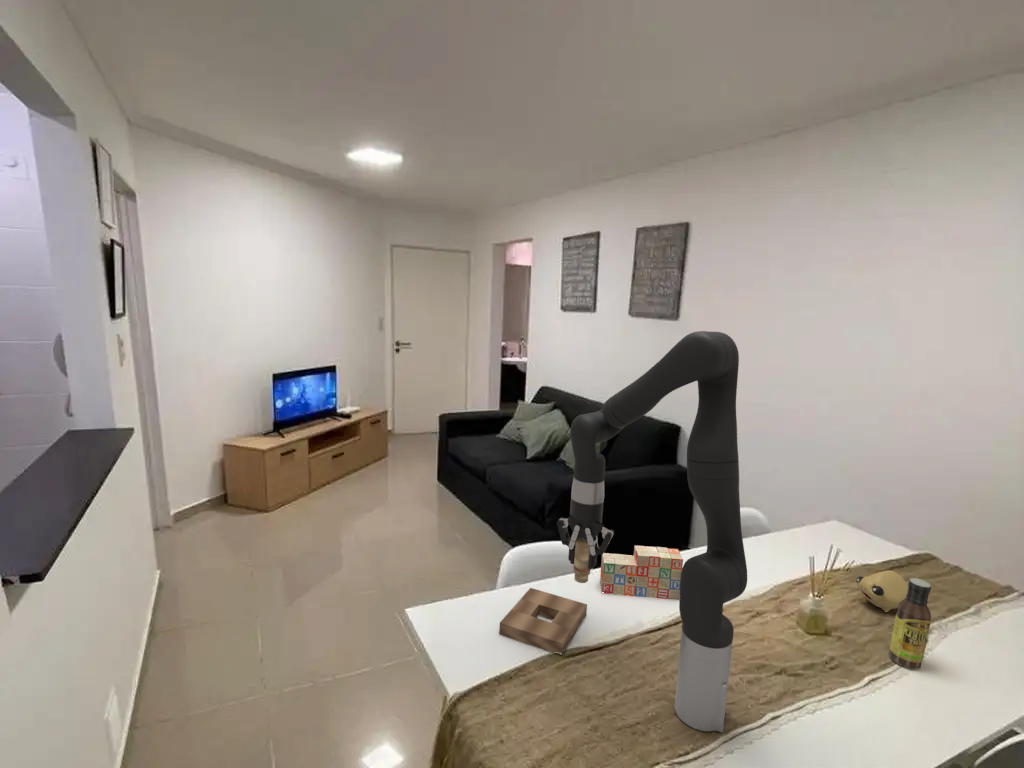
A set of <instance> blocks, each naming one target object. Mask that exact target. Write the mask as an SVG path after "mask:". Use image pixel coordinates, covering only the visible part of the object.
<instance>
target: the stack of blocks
mask: <svg viewBox="0 0 1024 768" xmlns="http://www.w3.org/2000/svg"><path fill="white" fill-rule="evenodd" d="M633 549H634V550H633V555H631V554H630V555H629V554H622V553H621V554H620V553H609V552H607V553H606V552H604V553H603V554H602V555H601V560H600V561H601V564H600V579H599V584H600V583H601V584H600V590H601V593H602V592H604V593H603V594H608V593H613V594H612V595H616V594H621V595H620V596H627V595H629V597H639V598H641V597H642V598H653V599H662V600H673V601H680V578H681V572H682V568H683V565H684V564H683V563H684V558H683V556H682V554H681V552H680V550H679V548H668V547H666V546H665V547H662V546H647V545H646V546H645V545H634V547H633Z"/></svg>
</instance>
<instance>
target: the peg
mask: <svg viewBox="0 0 1024 768" xmlns="http://www.w3.org/2000/svg"><path fill="white" fill-rule="evenodd" d="M590 554H591V553H590V547H589V546H588V541H587V540H585V539H584V538H578V539H577V540H576V543H575V555H574V564H573V567H572V568H573V569H572V572H573V573H574V581H575V582H577V583H580V584H585V583H586V584H587V582H588V581H589V576H590V574H591V571H592V570H591V569H588V567H589V555H590Z"/></svg>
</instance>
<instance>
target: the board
mask: <svg viewBox="0 0 1024 768" xmlns="http://www.w3.org/2000/svg"><path fill="white" fill-rule="evenodd" d="M587 610H588V604H586V603H583V602H581V601H577V600H574V599H570V598H566V597H563V596H559V595H557V594H553V593H549V592H546V591H544V590H540V589H536V588H533V587H529V588H528V590H527V591H526V592H525V593H524V594H523V596H521V598H519V600H518V601H517V602H516V604H515V605H514V606H513V607H512V608H511V609H510V611H509V612H508V613H507V614H506V615H505V616H504V617H503V619H502V620H501V621H500V622H499V632H498V633H499V635H501V636H504V637H506V638H510V639H512V640H516V641H519V642H521V643H524V644H526V645H530V646H533V647H536V648H538V649H542V650H544V651H546V652H547V651H548V652H549V653H553V652H561V653H562V652H563V651H564V650H565V651H566V649H567V648H568V646H569V645H570V643H571V641H572V639H573V638H574V637H575V635H576V633H577V631H578V629H580V626H581V625H582V623H583V622H584V620H585V618H586V616H587V612H588V611H587ZM539 617H543V618H547V619H548V620H551V621H548V620H545V619H541V618H539ZM565 651H564V652H565Z"/></svg>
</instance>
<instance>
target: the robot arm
mask: <svg viewBox="0 0 1024 768" xmlns="http://www.w3.org/2000/svg"><path fill="white" fill-rule="evenodd" d="M739 361H740V356H739V349H738V346H737V344H736V342H735V341H734V339H733V338H732V337H731V336H730V335H729V334H726V333H724V332H721V331H707V330H705V331H704V330H700V331H693V332H690V333H689V334H686V335H685V336H684V337H682V338H681V339H680V340H679V341H678V342H677V343H676V344H675V345H674V346H672V348H671V349H670V350H669V351H668V352H667V353H666V354H665V355H664V356H663V357H661V359H660V360H659V361H657V362H656V363H655V364H654V365H653V366H652V367H651V368H649V369H648V370H647V371H646V372H645V373H644V374H642V375H641V376H639V377H638V378H637V379H636V380H634V381H633V382H632V383H630V384H628V385H626V387H624V388H622V389H620V390H619V391H618V392H616V393H615V394H613V395H611V397H609V398H608V399H607V400H606V401H605V402H604V403H603V405H602V408H601V409H598V410H597V411H595V412H593V411H592V412H589V413H583V414H579V415H578V416H576V417H575V418H574V419H573V421H572V422H571V426H570V430H569V431H570V433H569V435H570V442H571V448H572V452H573V456H574V457H573V458H574V466H573V467H574V469H573V480H572V485H571V493H570V495H571V496H570V507H569V509H570V510H569V516H568V517H567V518H565V517H563V516H562V517H560V518H559V519H558V520H557V521H556V525H557V529H558V533H559V536H560V537H559V538H560V542H561V544H562V545H563V546H566V547H568V558H567V559H568V562H569V561H570V562H569V563H570V564H571V565H574V555H575V543H576V540H577V539H578V538H584V539H585V540H587V541H588V546H589V547H590V553H591V554H590V555H589V567H588V569H591V570H590V571H592V569H593V568H595V567H596V565H597V564H598V563H597V562H598V555H599V556H602V554H603V553H605V552H606V551H607V549H608V546H609V544H610V543H611V541H612V538H613V536H614V534H615V530H614V529H608V528H607V527H604V523H603V513H604V502H605V500H604V499H605V496H606V495H605V476H606V475H605V474H606V458H605V456H604V455H603V454H602V453H601V452H597V450H596V447H597V446H596V444H600V443H602V442H606V441H609V440H610V439H612V438H613V437H615V436H617V435H618V434H619V433H620V432H621V431H623V429H624V428H626V427H627V426H629V425H631V424H632V423H634V422H635V421H638V419H640V418H642V417H644V416H645V415H646V414H648V413H649V412H650V411H652V410H653V409H654V408H655V407H656V406H657V405H658V404H659V403H660V402H661V401H662V400H663V399H664V398H665V397H666V396H668V395H669V394H671V393H672V392H673V391H676V390H678V389H679V388H682V387H685V386H687V385H689V384H692V383H694V382H697V389H698V391H697V393H698V403H697V412H696V415H695V419H694V422H693V424H692V427H691V431H690V434H689V437H688V441H687V446H686V474H687V475H686V476H687V484H688V488H689V491H690V492H691V495H692V497H693V499H694V500H695V502H696V504H697V506H698V508H699V509H700V511H701V513H702V516H703V518H704V521H705V525H706V539H707V541H706V543H707V544H706V552H704V553H700V554H697V555H695V556H693V557H692V556H691V557H690V558H688V559H687V560H686V561H685V562H684V564H683V566H682V572H681V578H680V597H679V600H678V601H679V604H678V605H679V606H678V608H679V615H680V618H681V632H680V633H681V634H680V643H679V655H678V665H677V667H678V668H677V677H676V687H675V688H676V689H675V695H674V697H675V698H674V712H675V713H676V715H677V717H678V718H679V719H680V720H681V721H682V722H683V723H684V724H685V725H687V726H689V727H690V728H692V729H694V730H698V731H701V732H719V733H723V732H724V725H725V717H726V716H725V714H726V708H727V707H726V706H727V696H728V687H729V678H730V668H731V659H732V650H733V649H732V648H733V641H734V632H735V629H734V625H733V623H732V621H731V620H730V619H729V618H728V617H727V616H725V615H724V614H723V609H724V604H726V603H728V602H730V601H733V600H734V599H737V598H738V597H740V596H741V595H742V594H743V593H744V592H745V590H746V588H747V585H748V569H747V568H748V566H747V559H746V555H745V553H746V552H745V546H744V540H743V533H742V522H741V502H740V465H739V463H740V462H739V448H738V423H737V393H738V392H737V389H738V380H739V379H738V378H739V376H738V375H739V365H740V364H739V363H740V362H739ZM568 526H569V527H570V529H571V531H572V534H571V537H570V534H569V530H568ZM600 533H601V535H602V538H603V540H602V543H601V545H599V544H598V539H599V538H598V535H599V534H600Z"/></svg>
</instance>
